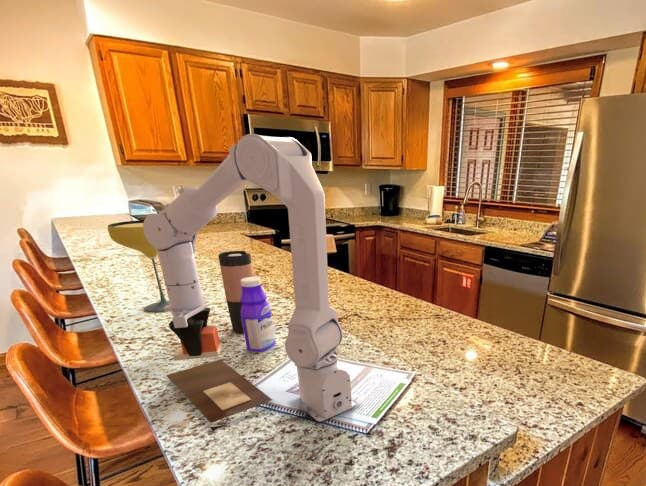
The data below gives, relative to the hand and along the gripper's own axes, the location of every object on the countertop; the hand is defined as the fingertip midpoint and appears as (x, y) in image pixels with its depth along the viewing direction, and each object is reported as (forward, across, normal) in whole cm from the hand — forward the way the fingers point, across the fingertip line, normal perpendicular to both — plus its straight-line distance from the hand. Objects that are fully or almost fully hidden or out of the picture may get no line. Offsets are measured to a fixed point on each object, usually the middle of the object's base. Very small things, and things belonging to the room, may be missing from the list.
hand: (198, 350), depth 83 cm
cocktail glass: (+7, -57, -22) cm, 62 cm away
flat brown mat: (+7, +6, +3) cm, 10 cm away
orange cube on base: (+1, 0, 0) cm, 1 cm away
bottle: (+7, -13, +10) cm, 18 cm away
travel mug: (+7, -30, +5) cm, 31 cm away
